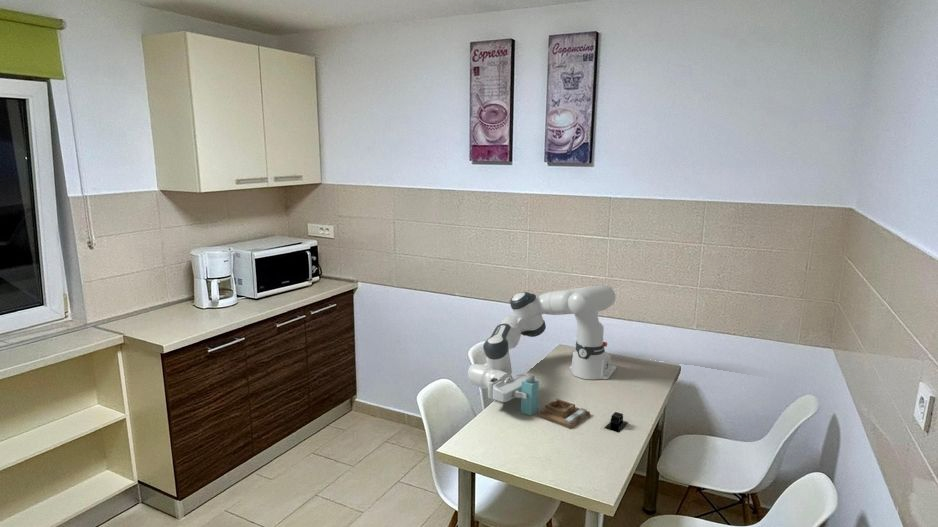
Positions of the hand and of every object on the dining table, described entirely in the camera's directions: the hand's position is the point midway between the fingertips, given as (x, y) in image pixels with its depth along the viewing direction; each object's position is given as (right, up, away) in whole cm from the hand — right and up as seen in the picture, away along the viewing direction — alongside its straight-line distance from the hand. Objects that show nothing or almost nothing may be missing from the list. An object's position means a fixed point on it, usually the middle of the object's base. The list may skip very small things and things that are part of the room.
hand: (531, 393), depth 200 cm
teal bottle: (-1, -7, +2) cm, 8 cm away
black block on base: (+29, -10, -7) cm, 32 cm away
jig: (+12, -8, -1) cm, 14 cm away
